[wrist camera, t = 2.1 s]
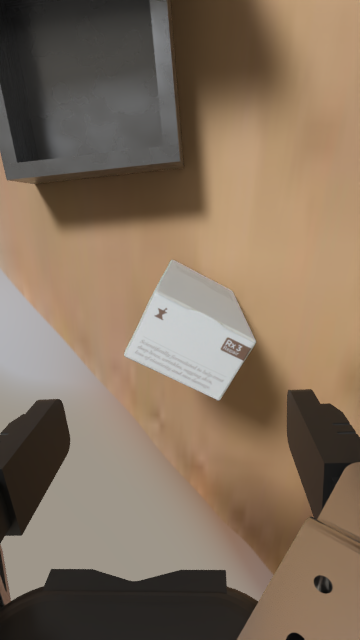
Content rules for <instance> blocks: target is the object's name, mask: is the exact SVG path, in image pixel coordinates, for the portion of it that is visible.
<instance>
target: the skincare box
mask: <svg viewBox="0 0 360 640" xmlns="http://www.w3.org/2000/svg"><path fill="white" fill-rule="evenodd" d="M255 344H256V340H255V338H254V336H253V334H252V332H251V329H250V327H249V325H248V323H247V321H246V319H245V317H244V315H243V312H242V310H241V308H240V306H239V304H238V302H237V300H236V297H235V295H234V293H233V291H232V290H230V289H228V288H226V287H224V286H222V285H220V284H218V283H217V282H215V281H213V280H211V279H209V278H207V277H205V276H203V275H201V274H199V273H198V272H196V271H194V270H192V269H190V268H188V267H186V266H184V265H182V264H180V263H179V262H177V261H175V260H171V261H170V263H169V265H168V267H167V269H166V271H165V272H164V274H163V276H162V278H161V279H160V281H159V283H158V285H157V287H156V289H155V291H154V293H153V295H152V296H151V298H150V300H149V302H148V305H147V307H146V309H145V311H144V313H143V316H142V318H141V320H140V322H139V324H138V326H137V328H136V330H135V332H134V334H133V336H132V339H131V340H130V342H129V344H128V346H127V348H126V350H125V353H124V356H125V357H127V358H129V359H131V360H133V361H135V362H138V363H140V364H142V365H144V366H146V367H148V368H150V369H153V370H155V371H157V372H159V373H161V374H163V375H165V376H168V377H170V378H172V379H174V380H176V381H178V382H180V383H182V384H185V385H187V386H189V387H191V388H193V389H195V390H197V391H199V392H201V393H204V394H206V395H208V396H210V397H212V398H214V399H216V400H218V401H219V400H221V398H222V396H223V395H224V393H225V392H226V390H227V388H228V387H229V385H230V383H231V382H232V380H233V379H234V377H235V375H236V374H237V372H238V370H239V369H240V367H241V366H242V364H243V363H244V361H245V360H246V358H247V356H248V355H249V353H250V352H251V350H252V349H253V347H254V346H255Z"/></svg>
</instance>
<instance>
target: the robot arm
mask: <svg viewBox="0 0 360 640" xmlns="http://www.w3.org/2000/svg"><path fill="white" fill-rule="evenodd" d="M287 437H288V443H289V448H290V451H291V454H292V456H293V459H294V462H295V465H296V468H297V470H298V473H299V476H300V479H301V482H302V485H303V487H304V490H305V493H306V496H307V499H308V502H309V504H310V507H311V510H312V513H313V516H314V518H313V517H308V518H307V519H306V521H305V522H304V524H303V525H302V527H301V529H300V531H299V532H298V534H297V536H296V538H295V539H294V541H293V543H292V545H291V546H290V548H289V550H288V551H287V553H286V555H285V557H284V558H283V560H282V562H281V564H280V565H279V567H278V569H277V571H276V572H275V574H274V576H273V578H272V579H271V581H270V583H269V585H268V586H267V588H266V590H265V591H264V593H263V595H262V597H261V599H260V600H259V602H258V601H256V600H255V599H253V598H252V597H250V596H248V595H247V594H245V593H242V592H240V591H238V590H236V589H232V588H229V587H227V586H226V571H225V570H179V571H175V572H172V573H168V574H164V575H160V576H157V577H153V578H148V579H145V580H141V581H128V580H125V579H122V578H119V577H116V576H112V575H109V574H106V573H102V572H99V571H96V570H93V569H92V570H91V569H90V570H89V569H87V570H86V569H51V571H50V573H49V576H48V578H47V581H46V583H45V585H44V587H40V588H38V589H35V590H32V591H30V592H28V593H25V594H23V595H21V596H19V597H17V598H16V599H14V600H13V601H11V598H10V592H9V586H8V581H7V574H6V568H5V562H4V556H3V551H2V547H1V544H0V640H360V437H359V436H358V435H357V434H356V433H355V430H354V429H353V427H352V426H351V425H350V423H349V421H348V420H347V418H346V417H345V415H344V414H343V412H341V411H340V410H338V409H337V408H336V407H334V406H333V405H331V404H320V402H319V401H318V399H317V397H316V396H315V394H314V392H313V391H312V390H311V389H306V390H289V391H288V394H287ZM69 446H70V434H69V430H68V425H67V421H66V416H65V411H64V407H63V403H62V401H61V400H60V399H49V400H38V401H36V402H35V404H34V405H33V406H32V407H31V408H30V409H29V410H28V412H27V413H26V414H23V415H21V416H20V417H18V418H17V419H15V420H14V421H12V422H11V423H9V424H8V426H7V427H6V428H5V429H4V430H3V431H2V432H1V435H0V543H1V541H2V540H3V538H4V536H6V535H7V536H8V535H9V536H11V535H12V536H14V535H22V534H23V532H24V531H25V529H26V527H27V525H28V523H29V522H30V520H31V518H32V516H33V514H34V513H35V511H36V509H37V507H38V506H39V504H40V502H41V500H42V498H43V496H44V495H45V493H46V491H47V489H48V487H49V486H50V484H51V482H52V481H53V479H54V477H55V475H56V473H57V472H58V470H59V468H60V466H61V464H62V462H63V461H64V459H65V457H66V455H67V453H68V451H69Z"/></svg>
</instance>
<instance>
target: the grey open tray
mask: <svg viewBox="0 0 360 640" xmlns="http://www.w3.org/2000/svg"><path fill="white" fill-rule="evenodd" d="M0 152H1V156H2V161H3V165H4V170H5V174H6V178H7V180H10V181H17V182H24V183H31V184H39V183H48V182H58V181H67V180H76V179H86V178H95V177H104V176H114V175H123V174H133V173H142V172H151V171H161V170H170V169H179V168H184V162H183V149H182V137H181V124H180V111H179V99H178V86H177V74H176V61H175V48H174V36H173V23H172V11H171V0H0Z"/></svg>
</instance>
